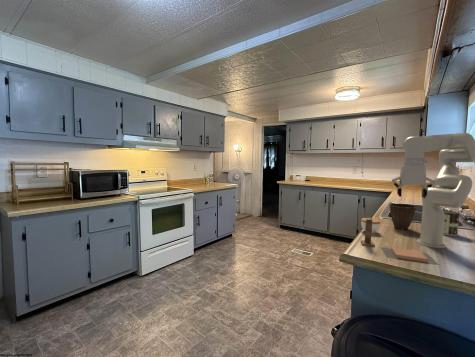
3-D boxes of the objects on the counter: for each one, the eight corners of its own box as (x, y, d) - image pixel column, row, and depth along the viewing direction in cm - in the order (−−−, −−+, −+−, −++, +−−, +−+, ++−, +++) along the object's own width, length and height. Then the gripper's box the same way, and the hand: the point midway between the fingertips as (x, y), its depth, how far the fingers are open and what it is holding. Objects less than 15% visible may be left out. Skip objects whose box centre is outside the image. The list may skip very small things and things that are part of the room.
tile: (391, 247, 119) (396, 254, 110) (419, 251, 115) (427, 258, 105) (390, 250, 119) (395, 257, 110) (419, 254, 115) (427, 262, 105)
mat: (380, 247, 123) (380, 247, 123) (427, 254, 116) (427, 253, 116) (386, 258, 110) (386, 257, 110) (439, 265, 103) (439, 265, 103)
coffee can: (456, 233, 152) (458, 211, 151) (458, 237, 144) (460, 214, 143) (435, 230, 159) (437, 209, 157) (436, 233, 150) (438, 211, 149)
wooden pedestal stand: (360, 242, 131) (362, 217, 130) (372, 244, 129) (374, 219, 128) (361, 246, 126) (363, 220, 125) (374, 247, 123) (376, 221, 122)
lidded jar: (371, 235, 145) (372, 220, 144) (356, 230, 154) (357, 216, 154) (383, 233, 149) (384, 218, 148) (368, 228, 159) (368, 214, 158)
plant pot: (382, 226, 164) (384, 204, 163) (396, 224, 170) (397, 202, 169) (405, 232, 151) (407, 208, 149) (419, 230, 157) (421, 206, 156)
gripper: (433, 162, 115) (430, 196, 116) (391, 162, 122) (389, 194, 124) (438, 162, 108) (436, 199, 109) (394, 162, 115) (392, 197, 117)
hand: (411, 196), depth 117 cm, fingers open, 9 cm apart
